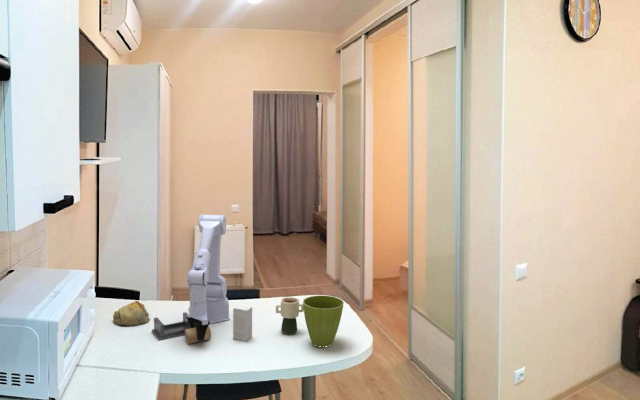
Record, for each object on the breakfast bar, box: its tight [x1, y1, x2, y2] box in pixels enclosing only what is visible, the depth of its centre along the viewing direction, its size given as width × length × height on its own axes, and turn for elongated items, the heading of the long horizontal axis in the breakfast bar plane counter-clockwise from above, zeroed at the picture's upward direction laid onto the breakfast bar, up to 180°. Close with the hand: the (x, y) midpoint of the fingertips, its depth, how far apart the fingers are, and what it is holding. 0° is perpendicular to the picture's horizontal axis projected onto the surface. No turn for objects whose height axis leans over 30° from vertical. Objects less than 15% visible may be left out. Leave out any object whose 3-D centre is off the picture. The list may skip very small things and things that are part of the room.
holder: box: [151, 311, 190, 341], centre depth 182 cm, size 14×9×6 cm, turn 125°
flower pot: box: [302, 295, 344, 348], centre depth 176 cm, size 15×15×16 cm
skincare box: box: [232, 304, 253, 342], centre depth 179 cm, size 6×4×12 cm
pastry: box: [112, 300, 151, 327], centre depth 192 cm, size 14×12×8 cm
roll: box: [184, 325, 212, 345], centre depth 176 cm, size 8×5×5 cm, turn 125°
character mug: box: [275, 296, 304, 335], centre depth 186 cm, size 11×7×13 cm, turn 102°
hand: (198, 337), depth 176 cm, fingers closed on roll, 5 cm apart
